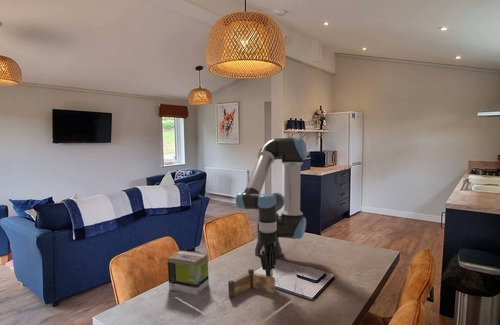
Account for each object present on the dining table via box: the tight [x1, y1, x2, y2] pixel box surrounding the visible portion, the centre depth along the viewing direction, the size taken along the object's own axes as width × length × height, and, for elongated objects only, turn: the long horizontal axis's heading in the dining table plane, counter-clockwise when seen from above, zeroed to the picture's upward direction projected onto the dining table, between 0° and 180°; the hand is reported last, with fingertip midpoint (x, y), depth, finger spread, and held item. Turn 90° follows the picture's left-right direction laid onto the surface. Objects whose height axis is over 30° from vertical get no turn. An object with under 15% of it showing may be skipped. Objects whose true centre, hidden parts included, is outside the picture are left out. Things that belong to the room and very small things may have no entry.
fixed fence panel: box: [227, 272, 252, 299], centre depth 130 cm, size 2×12×7 cm, turn 137°
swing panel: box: [247, 268, 276, 294], centre depth 132 cm, size 13×2×7 cm, turn 55°
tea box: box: [167, 250, 210, 296], centre depth 136 cm, size 15×10×15 cm, turn 65°
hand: (269, 283), depth 133 cm, fingers closed
